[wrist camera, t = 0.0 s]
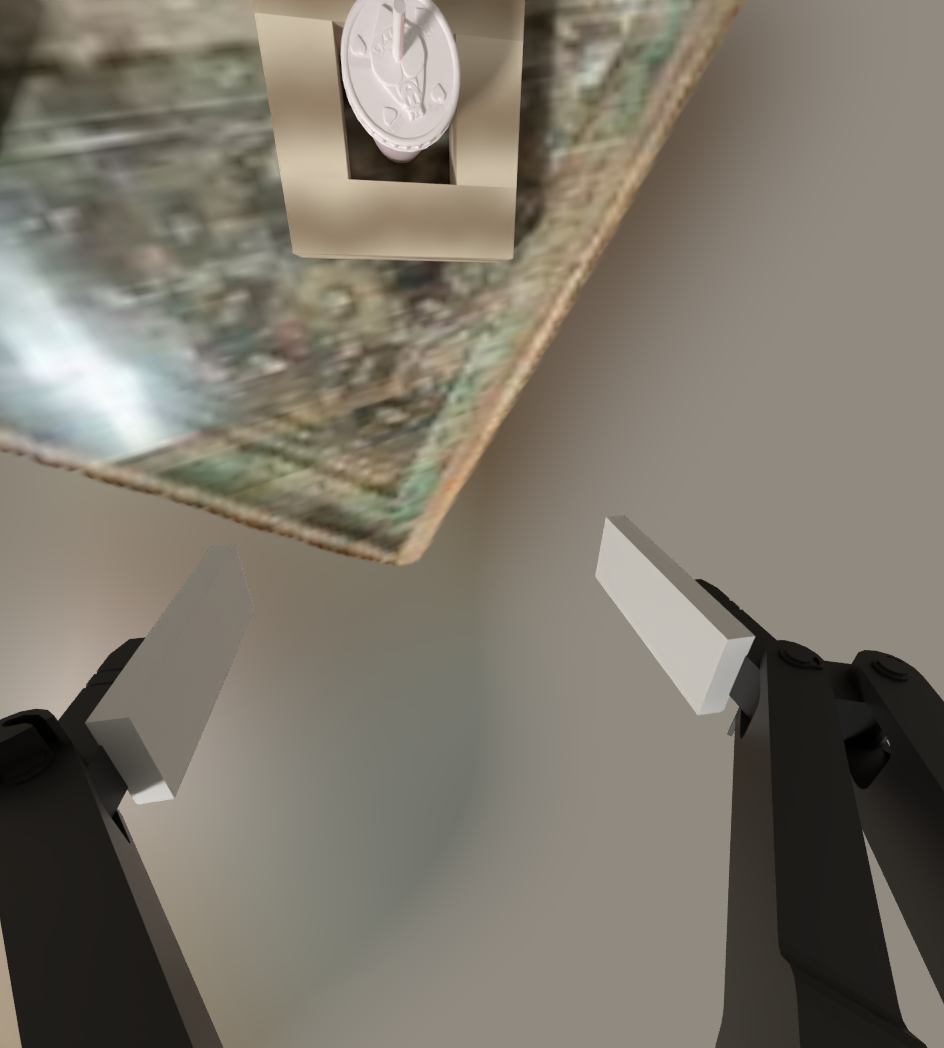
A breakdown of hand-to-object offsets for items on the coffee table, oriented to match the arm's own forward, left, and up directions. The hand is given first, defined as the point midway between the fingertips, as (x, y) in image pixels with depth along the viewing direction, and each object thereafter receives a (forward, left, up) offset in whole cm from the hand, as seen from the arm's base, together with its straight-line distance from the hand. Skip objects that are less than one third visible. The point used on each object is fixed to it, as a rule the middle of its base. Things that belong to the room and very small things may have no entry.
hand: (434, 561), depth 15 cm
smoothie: (-19, +1, -28) cm, 34 cm away
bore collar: (-19, +1, -28) cm, 34 cm away
